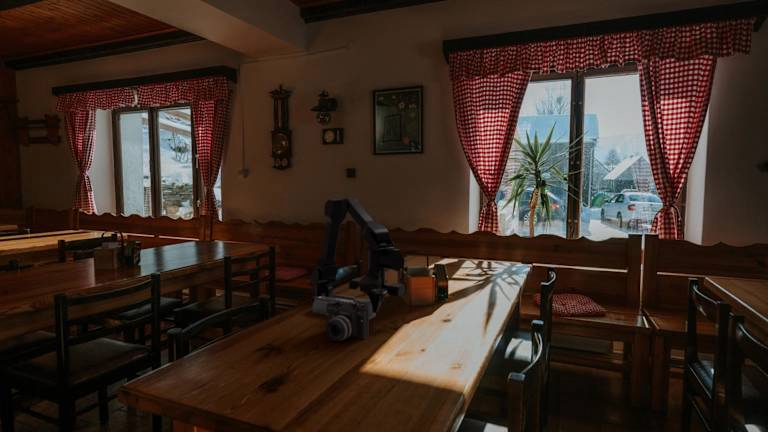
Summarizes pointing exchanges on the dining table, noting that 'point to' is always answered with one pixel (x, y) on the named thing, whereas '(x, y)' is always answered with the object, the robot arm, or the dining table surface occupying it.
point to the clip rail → (372, 315)
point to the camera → (347, 320)
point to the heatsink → (320, 304)
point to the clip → (364, 301)
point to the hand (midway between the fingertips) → (376, 311)
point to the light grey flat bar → (335, 299)
